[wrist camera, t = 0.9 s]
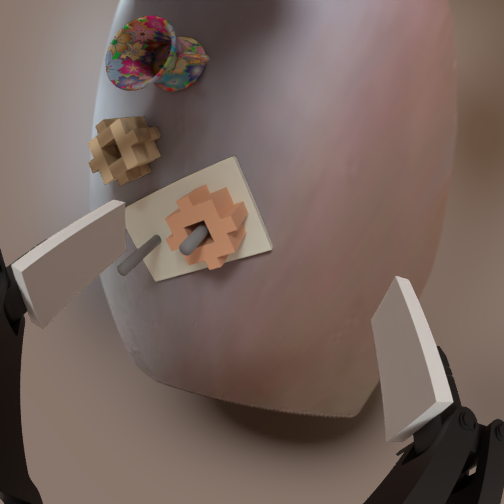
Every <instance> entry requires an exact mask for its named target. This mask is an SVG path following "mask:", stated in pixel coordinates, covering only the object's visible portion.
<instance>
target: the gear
mask: <svg viewBox="0 0 504 504" xmlns="http://www.w3.org/2000/svg"><path fill="white" fill-rule="evenodd" d="M96 129H97V132H98V134H99V135H97V136H96V137H95V138H94V139H93V140H91V141H90V142H89V143H88V144H89V147H90V150H91V152H92V155H93V157H94V159H93V160H91V161H90V162H89V165H90V168H91V170H92V172H93V173H95V172H98V171H99V172H100V174H101V176H102V179H103V181H104V183H105V185H106V184H108V183H110V182H113V181H115V180H118V182H119V184H120V186H122V185H124V184H126V183H128V182H131V181H133V180H135V179H138V178H140V177H143V176H144V175H146V174H148V173H150V172H152V171H151V169H150V167H149V165H148V163H150V162H151V161H153V160H155V159H157V158H159V157H160V156H161V155H160V153H159V151H158V149H157V146H156V144H155V142H154V141H155V140H157V139H159V138H160V137H161V135H160V132H159V130H158V128H157V126H156V127H148V125H147V123H146V120H145V118H144V116H140V117H125V118H114V119H105V120H102V121H101V122H100V123H99V124H98V125H96Z"/></svg>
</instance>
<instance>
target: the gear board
mask: <svg viewBox="0 0 504 504" xmlns="http://www.w3.org/2000/svg"><path fill="white" fill-rule="evenodd" d="M125 227H126V229H127V231H128V233H129V235H130V237H131V239H132V240H133V242H134V244H135V246H136V248H137V250H136V251H135V252H134V253H133V254H132V255H130V256H129V257H128V258H127V259H126V260H125V261H123V262H122V263H121V264H120V265H119V266H118V268H117V269H118V272H119V273H120V274H121V275H122V276H125V275H127V274H128V273H129V272H130V271H131V270H132V269H133V268H134V267H135V266H136V265H137V264H138V263H139V262H140V261H141V260H142V259H143V261H144V263H145V264H146V266H147V268H148V270H149V271H150V273H151V275H152V277H153V278H154V280H155V282H156V281H160V280H164V279H167V278H171V277H175V276H178V275H182V274H186V273H189V272H193V271H197V270H200V269H204V268H209V270H212V269H215V268H219V267H222V265H223V264H224V263H226V262H229V261H233V260H237V259H240V258H244V257H248V256H251V255H255V254H259V253H262V252H266V251H269V250H272V248H273V245H272V242H271V240H270V237H269V235H268V232H267V230H266V227H265V225H264V223H263V220H262V218H261V215H260V213H259V210H258V208H257V205H256V203H255V201H254V198H253V196H252V193H251V191H250V189H249V186H248V184H247V181H246V179H245V177H244V174H243V172H242V169H241V167H240V165H239V162H238V160H237V158H236V155H235V156H232V157H230V158H227V159H225V160H223V161H220V162H218V163H216V164H213V165H211V166H209V167H206V168H204V169H202V170H200V171H197V172H195V173H193V174H191V175H189V176H186V177H184V178H182V179H180V180H178V181H176V182H174V183H172V184H170V185H168V186H166V187H164V188H162V189H160V190H158V191H156V192H154V193H152V194H150V195H148V196H146V197H144V198H142V199H140V200H138V201H136V202H134V203H133V204H131V205H129V206H127V207H125Z"/></svg>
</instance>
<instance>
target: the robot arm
mask: <svg viewBox="0 0 504 504" xmlns="http://www.w3.org/2000/svg"><path fill="white" fill-rule="evenodd" d="M125 251H126V228H125V202H121V201H117V200H112V201H110V202H108V203H106V204H105V205H103V206H101V207H99V208H97V209H96V210H94V211H92V212H90V213H89V214H87V215H85V216H84V217H82V218H80V219H79V220H77V221H75V222H74V223H72V224H70V225H69V226H67V227H66V228H64V229H62V230H61V231H59V232H58V233H56V234H55V235H53V236H52V237H50V238H49V239H46V240H44V241H43V242H41V243H40V244H38V245H37V246H36V247H34V248H32V249H31V250H30V252H29V251H28V252H27V253H25V254H24V255H22V256H21V257H20V258H18V259H17V260H16V261H14V262H13V263H12V264H10V265H9V266H8V267H5V263H4V260H3V257H2V253H1V249H0V499H1V500H2V501H3V502H4V504H43V502H42V499H41V496H40V494H39V491H38V490H37V488H36V486H35V485H34V484H33V482H32V481H31V479H30V477H29V475H28V470H27V465H26V459H25V453H24V445H23V436H22V426H21V410H20V371H21V354H22V344H23V343H22V342H23V335H24V327H25V318H24V314H25V313H26V312H28V314H29V316H30V319H31V321H32V322H33V323H34V324H36V325H37V326H38V327H40V328H41V329H44V328H45V327H46V326H47V325H48V324H49V323H50V322H51V320H52V319H53V318H54V317H55V316H56V315H57V314H58V313H59V312H60V311H61V310H62V309H63V308H64V307H65V306H66V305H67V304H68V303H69V302H70V301H71V300H72V299H73V298H75V297H76V296H77V295H78V294H79V293H80V292H81V291H82V290H83V289H84V288H85V287H86V286H87V285H88V284H89V283H90V282H91V281H93V280H94V279H95V278H96V277H97V276H98V275H99V274H100V273H101V272H102V271H104V270H105V269H106V268H107V267H108V266H109V265H110V264H111V263H113V262H114V261H115V260H116V259H117V258H118V257H119V256H121V255H122V254H123V253H124V252H125ZM371 324H372V330H373V335H374V341H375V347H376V353H377V359H378V366H379V373H380V381H381V389H382V397H383V408H384V419H385V431H386V442H403V441H405V440H406V439H407V438H409V437H410V436H411V435H413V437H414V442H413V443H411V444H410V445H408V446H406V447H405V448H403V449H402V450H400V451H399V452H398V453H397V454H396V455H397V456H398V455H400V454H401V453H403V452H404V453H403V455H402V456H401V458H400V459H399V461H398V462H397V463H396V465H395V466H394V467H393V469H392V470H391V471H390V473H389V474H388V475H387V476H386V478H385V479H384V480H383V481H382V483H381V484H380V485H379V486H378V487H377V489H376V490H375V491H374V492H373V493H372V494H371V496H370V497H369V498H368V499H367V500H366V501H365V502H364V503H363V504H500V503H501V498H502V493H503V488H504V422H503V421H502V420H500V419H496V420H494V421H493V422H492V423H490V424H489V425H488V426H484V425H481V424H478V423H477V419H476V417H475V415H474V413H473V412H472V411H471V410H470V409H469V408H467V407H462V406H461V402H460V399H459V395H458V391H457V388H456V385H455V381H454V378H453V377H452V372H451V369H450V368H449V363H448V360H447V357H446V355H445V354H444V352H443V351H442V349H441V348H440V347H439V346H436V344H435V341H434V339H433V336H432V333H431V331H430V328H429V325H428V323H427V321H426V318H425V316H424V313H423V311H422V308H421V306H420V304H419V301H418V299H417V297H416V295H415V292H414V290H413V288H412V286H411V284H410V282H409V280H408V279H404V278H401V277H398V276H395V277H394V279H393V281H392V283H391V285H390V287H389V289H388V291H387V293H386V294H385V296H384V298H383V300H382V302H381V303H380V305H379V307H378V309H377V310H376V312H375V314H374V316H373V317H372V319H371ZM475 466H477V467H476V472H475V473H474V474H472V475H470V476H469V470H470V469H472V468H474V467H475Z"/></svg>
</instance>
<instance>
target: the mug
mask: <svg viewBox="0 0 504 504" xmlns="http://www.w3.org/2000/svg"><path fill="white" fill-rule="evenodd" d="M208 61H209V56H208V55H206V54H205V52H204V49H203V47H202V46H201V44H200V43H199V42H197V41H196V40H194V39H192V38H189V37H176V35H175V31H174V29H173V27H172V25H171V24H170V23H169V22H168V21H167V20H165V19H163V18H161V17H158V16H144V17H140V18H137V19H135V20H133V21H131V22H130V23H128V24H127V25H125V26H124V27H123V28H122V29H121V30H120V31H119V32H118V33H117V35H116V36H115V37H114V39H113V40H112V42H111V44H110V46H109V49H108V52H107V56H106V71H107V75H108V77H109V79H110V81H111V82H112V83H113V84H114V85H115V86H116V87H118V88H120V89H123V90H128V91H133V90H138V89H142V88H144V87H146V86H148V85H150V84H152V83H155V84H156V85H157V86H158V87H159V88H161V89H163V90H166V91H179V90H183V89H185V88H187V87H189V86H191V85H192V84H193V83H194V82H195V81H196V80H197V79H198V78H199V77H200V75H201V74H202V72H203V69H204V67H205V63H207V62H208Z"/></svg>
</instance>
